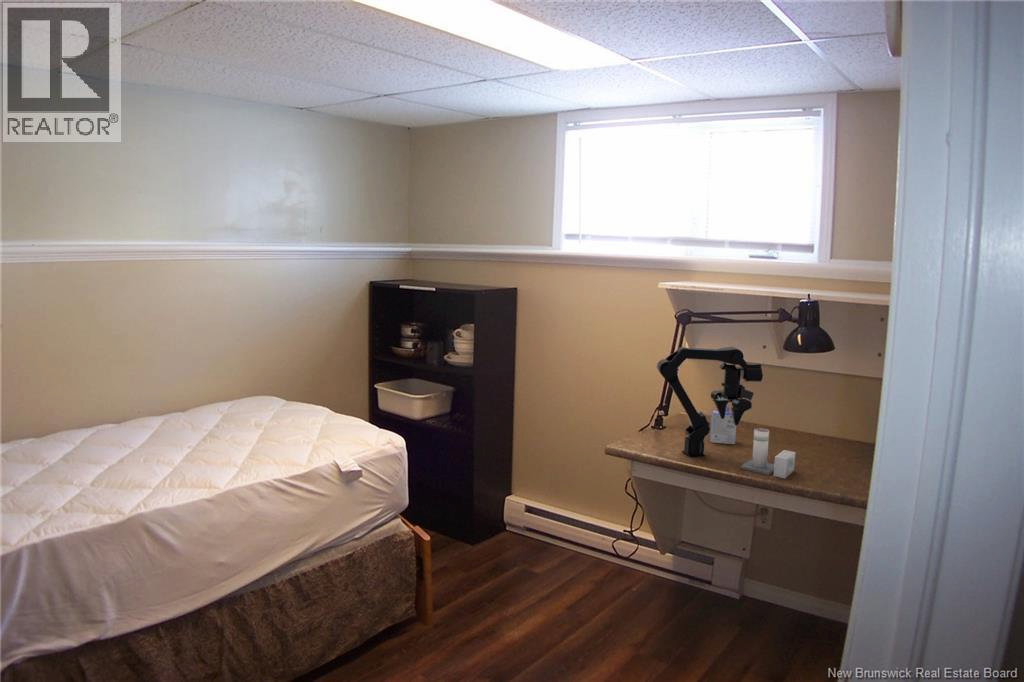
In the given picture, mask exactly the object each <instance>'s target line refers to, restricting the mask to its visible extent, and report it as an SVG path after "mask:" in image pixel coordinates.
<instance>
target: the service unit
mask: <svg viewBox="0 0 1024 682" xmlns="http://www.w3.org/2000/svg"><path fill="white" fill-rule="evenodd" d="M795 460H796V451H793V450H792V451H791V450H787V449H783V450H782V451H781V452H779V453H778V454H777V455H775V456H774V462H773V464H774V472H773V477H775V478H780V479H786V478H788V477H789V476H790V475H792V473H794V472H795V463H796V461H795ZM793 471H794V472H793Z"/></svg>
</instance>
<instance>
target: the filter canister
mask: <svg viewBox="0 0 1024 682" xmlns="http://www.w3.org/2000/svg"><path fill="white" fill-rule="evenodd" d="M753 429H754V430H753V442H752V445H753V446H752V459H751V460H752V466H754V467H758V468H765V467H767V463H768V452H769V439H770V430H769V429H766V428H761V427H760V428H753Z"/></svg>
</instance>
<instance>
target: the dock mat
mask: <svg viewBox="0 0 1024 682" xmlns="http://www.w3.org/2000/svg"><path fill="white" fill-rule="evenodd" d="M740 469H741V470H744V471H748V472H753V473H757V474H763V475H768V476H771V474H772V473H774V463H769V462H767V467H765V468H758V467H754V466H752V459H749V460H747V461H746V462H745V463H744V464H741V466H740Z"/></svg>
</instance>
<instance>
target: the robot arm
mask: <svg viewBox="0 0 1024 682" xmlns="http://www.w3.org/2000/svg"><path fill="white" fill-rule="evenodd" d="M744 357H745V356H744V353H743V352H742V350H740V349H738V348H737V347H735V346H727V347H726V346H725V347H720V348H701V347H698V348H697V347H685V346H680V347H678V349H677V350H676V351H674V352H673V353H671V354H669V355H668V356H666V358H662V359H660V360H659V361H658V362H657V365H656V369H657V371H658V372H659V373H660V375H661V376H662V377H663V378H664V380H666V382H667V383H668V384H669V385H670V387H671V389H672V391H673V393H674V394H675V397H677V399H678V402H679V403H680V405H681V406H682V408H683V409H684V412H685V414H686V415H687V419H688V422H689V424H690V425H689V426H688V427H686V428H685V429H684V434H685V435H686V437H684V443H683V444H684V445H683V446H684V448H683V450H682V451H681V452H682V453H683V454H684V455H687V457H690V458H693V457H705V456H706V454H705V442H704V440H705V438H706V437H707V436H708V435H709V433H710V432H711V422H709V421H708V420H707V417H706V415H705V414H704V413H703V412H702V411H700V412H698V411H697V409H696V407H695V406H694V404H693V403H692V402H693V401H691V399H690V397H689V395H688V394H687V392H686V391H685V389H684V386H683V385H682V383H681V381H680V379H679V375H678V373H677V369H678V368H679V367H680V366H681V365H682V364H683V363H684V362H685V361H686V360H688V359H691V360H709V361H719V362H723V363H722V364H720V365H719V369H721V370H723V371H724V378H723V382H721V386H722V387H723V389H719V390H713V391H712V392H711V393H710V399H712V401H713V403H714V405H715V408H716V409H717V410H716V411H718V412H719V414H720V417H721V419H724V417H725V412H726V410H727V408H726V406H728V404H729V403H731V406H732V407H731V412H732V414H733V419H734V424H735V425H736V426H738V425H739V423H740V422H741V418H742V416H743V415H744V413H745V412H746V411H749V410H751V409H752V408H753V402H751V401H752V399H753V396H754V394H755V392H753V391H751V390H747V389H746V387H745V386H744V385H743V384H741V379H742V380H743V381H744V382H746V383H747V382H749V383H753V382H755V383H761V382H762V381H763V376H764V374H763V369H762V364H761V363H759V362H758V363H757V362H756V363H747V362H746V360H745V359H744ZM736 365H738V366H736Z"/></svg>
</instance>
